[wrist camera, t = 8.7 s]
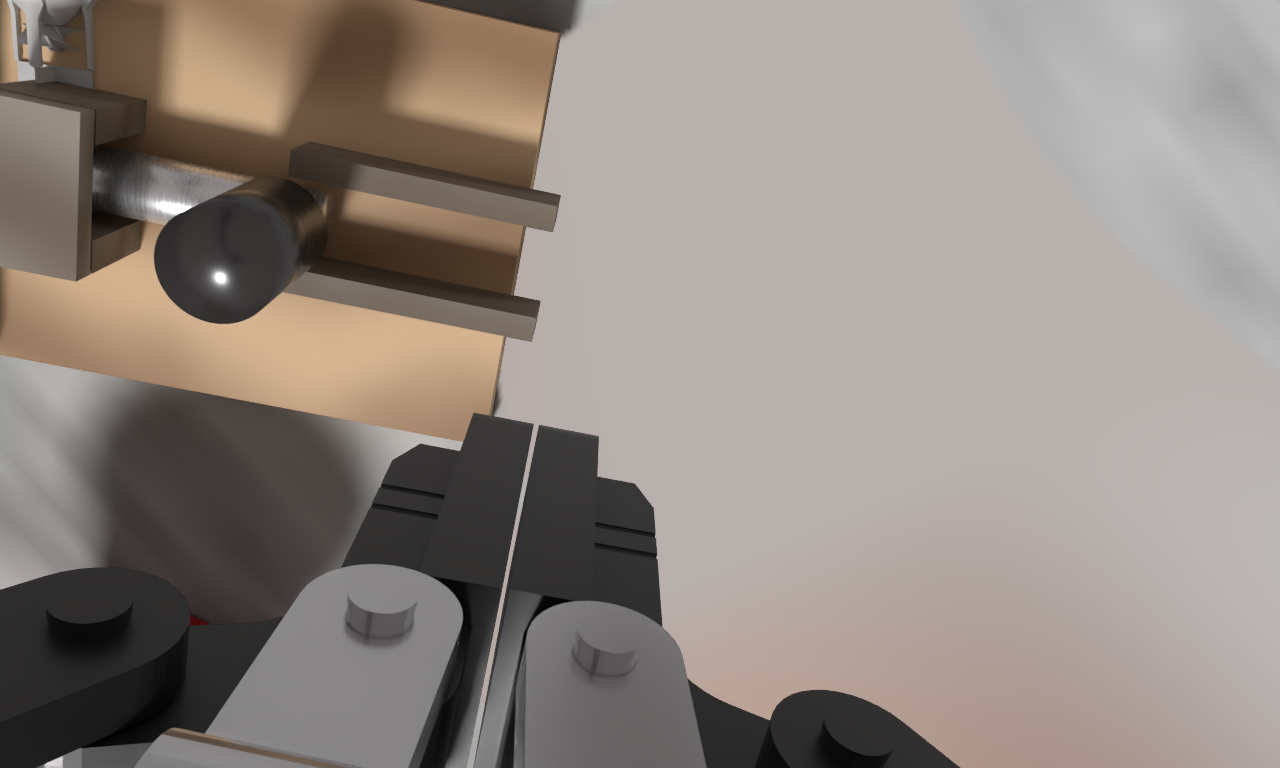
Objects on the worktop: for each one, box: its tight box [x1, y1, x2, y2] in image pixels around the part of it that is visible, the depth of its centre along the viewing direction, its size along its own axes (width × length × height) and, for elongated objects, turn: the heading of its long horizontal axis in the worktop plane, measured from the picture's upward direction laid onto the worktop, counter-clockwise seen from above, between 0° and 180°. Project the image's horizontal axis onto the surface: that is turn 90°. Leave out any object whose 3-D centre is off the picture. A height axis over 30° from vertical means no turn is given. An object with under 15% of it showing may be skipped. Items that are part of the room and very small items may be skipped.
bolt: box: [92, 144, 333, 324], centre depth 28 cm, size 3×10×7 cm, turn 78°
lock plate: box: [0, 0, 561, 442], centre depth 31 cm, size 14×21×6 cm, turn 78°
